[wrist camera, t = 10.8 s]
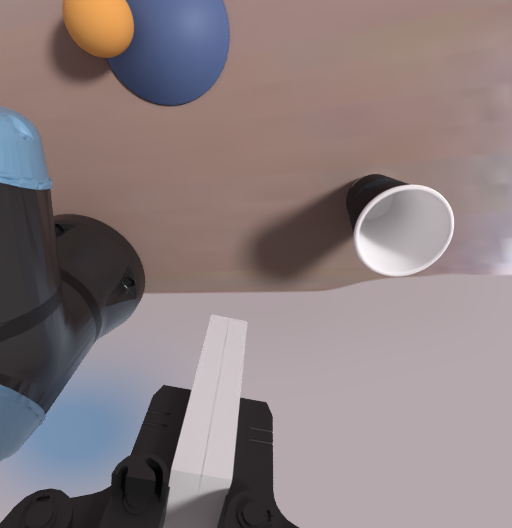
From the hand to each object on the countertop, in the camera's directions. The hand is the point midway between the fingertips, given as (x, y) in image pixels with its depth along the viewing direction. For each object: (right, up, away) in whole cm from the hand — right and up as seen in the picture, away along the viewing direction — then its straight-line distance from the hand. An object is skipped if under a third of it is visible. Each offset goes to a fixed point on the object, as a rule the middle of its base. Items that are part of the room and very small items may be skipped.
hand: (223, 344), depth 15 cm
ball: (-12, +24, +15) cm, 31 cm away
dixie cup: (+14, +11, +24) cm, 30 cm away
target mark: (-7, +25, +18) cm, 31 cm away
